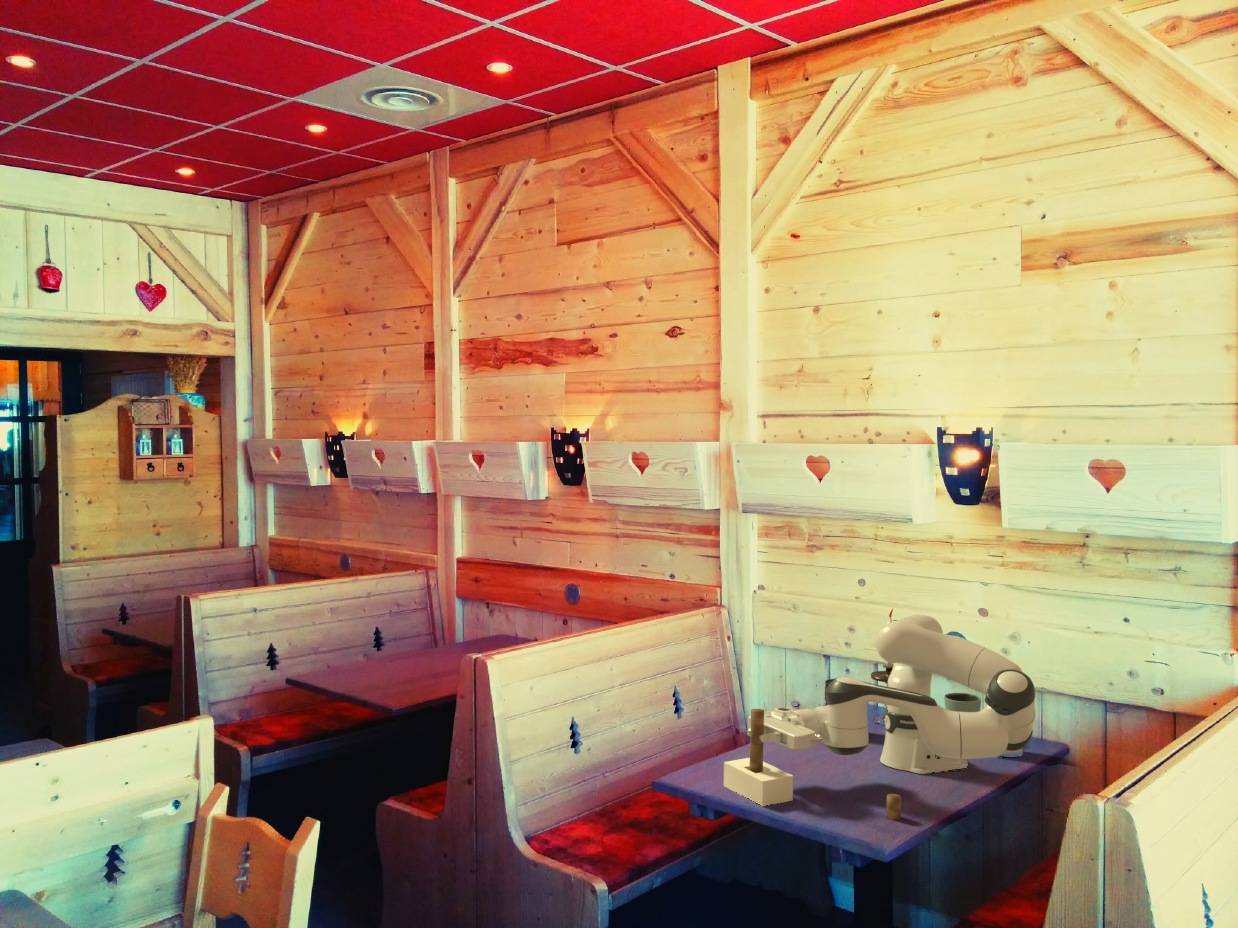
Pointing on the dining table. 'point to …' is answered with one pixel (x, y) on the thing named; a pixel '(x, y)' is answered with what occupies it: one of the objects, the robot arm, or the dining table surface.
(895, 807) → the short walnut pin
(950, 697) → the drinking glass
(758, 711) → the long walnut pin
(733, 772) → the bar
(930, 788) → the dining table surface
